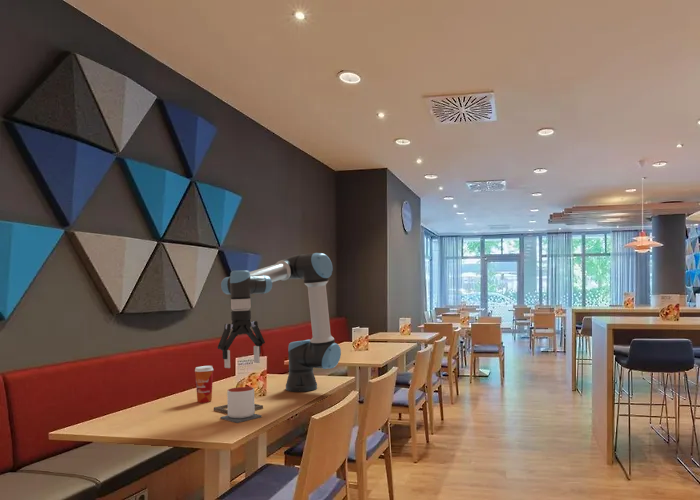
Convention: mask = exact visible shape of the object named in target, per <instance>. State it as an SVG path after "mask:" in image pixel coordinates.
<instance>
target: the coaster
mask: <svg viewBox="0 0 700 500" xmlns="http://www.w3.org/2000/svg"><path fill="white" fill-rule="evenodd" d="M262 417H263V416H262V415H261V414H257V413H254V414H253V415H252V416H250V417H247V418H231V417H229V416H228V414H227V415H223V416H220V419H221V420H225V421H228V422H232V423H235V424H239V423H242V422H247V421H251V420H256V419H260V418H262Z"/></svg>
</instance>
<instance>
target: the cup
mask: <svg viewBox="0 0 700 500" xmlns="http://www.w3.org/2000/svg"><path fill="white" fill-rule="evenodd" d="M226 396H227V404H228V408H227V410H228V414H227V415H228V416H229V417H231V418H247V417H250V416H252V415H253V414H255V412H256V410H255V407H254V404H255V388H254V387H252V386H238V387H231V388H229V389H227V393H226Z"/></svg>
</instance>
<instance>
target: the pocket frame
mask: <svg viewBox="0 0 700 500" xmlns="http://www.w3.org/2000/svg"><path fill="white" fill-rule="evenodd" d="M254 407H255V411H258V410H263V409H264V405H261V404H257V403H254ZM213 411H214V412H219V413H223V414H227V415H228V403H227V404H223V405H217V406H214V407H213Z"/></svg>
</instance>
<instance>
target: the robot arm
mask: <svg viewBox="0 0 700 500" xmlns="http://www.w3.org/2000/svg"><path fill="white" fill-rule="evenodd" d="M333 268H334V267H333V263H332V261H331V259H330V257H329V256H328V255H327V254H325V253H322V252H314V253H305V254H304V253H303V254H297V255H293V256H289V257H286V258H284V259H281V260H278V261H276V263H275V264H272V265H268V266H265V267H262V268H258V269H255V270H251V271H250V270H243V269H242V270H232V271H231V272H230V276H226V277H224V278H223V279H222V280H221V283H220V288H221V291H222V293H223V294H225V295H230V309H231V312H230V315H231V316H230V318H231V323H225V324H224V328H223V329H224V330H223V332H222V334H221V337H220V340H219V342H218V345H217V349H218V350H221V351H222V359H223V362H224V368H225V369H230V368H231V350H229V349H230V347H231V345H232V344H233V342H234V341H235V339H236V337H238V335H247V336H248V338H249V339H250V340H251V342H253V344H254V345H253V363H255V364H260V361H261V359H260V354H261V353H262V351H261V347H262V346H263V345H264V344H265V343H266V341H265V339H264V337H263V334H262V332H261V329H260V328H259V323H258V321H257V320H252V321H251V319H252V311H251V310H250V309H251V308H252V306H251V301H252V300H251V295H257V294H259V295H260V294H261V295H263V294H268V293H269V292H271V290H272V288H273V283H275V282H277V281H280V280H281V281H283V282H284V281H287V280H303V283H304V286H306V287H307V292H308V304H309V312H310V313H309V314H310V322H311V323H310V324H311V332H312V334H311V335H312V337H311V339H305V340H297V341H291V342H290V343H288V351H287V353H288V354H287V355H288V375H287V379H286V384H285V391H287V392H292V393H293V392H309V391H314V390H317V389H318V383H317V381H316V376H315V373H314V369H316V368H317V369H323V370H327V369H334V368H336V366H338V364H339V362H340V359H341V355H342V350H341V346H340V345H339V344H338V343H336V342H335V338H334V337H333V336H332V333H331V323H330V315H329V304H328V303H329V302H328V294H327V284H328V282H330V281H329V278H330V277H331V276H332V274H333V270H334V269H333Z"/></svg>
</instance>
